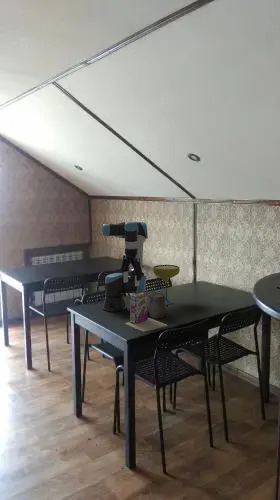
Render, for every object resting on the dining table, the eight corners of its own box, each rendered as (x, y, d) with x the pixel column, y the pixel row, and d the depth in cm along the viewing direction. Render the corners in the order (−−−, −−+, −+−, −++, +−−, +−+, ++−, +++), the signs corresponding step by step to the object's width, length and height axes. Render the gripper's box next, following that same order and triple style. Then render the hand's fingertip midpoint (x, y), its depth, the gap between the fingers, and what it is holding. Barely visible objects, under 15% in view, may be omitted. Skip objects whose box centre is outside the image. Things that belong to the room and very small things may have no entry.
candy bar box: (136, 324, 260) (135, 296, 258) (129, 322, 263) (129, 295, 261) (148, 319, 268) (148, 293, 266) (142, 318, 272) (142, 292, 269)
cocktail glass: (154, 298, 319) (154, 264, 316) (180, 299, 317) (180, 264, 313) (151, 305, 302) (151, 269, 298) (178, 306, 299) (178, 269, 295)
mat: (124, 324, 262) (124, 323, 262) (149, 318, 273) (149, 317, 273) (143, 332, 248) (143, 331, 248) (167, 326, 259) (167, 325, 259)
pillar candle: (164, 313, 283) (163, 290, 281) (165, 318, 273) (165, 294, 271) (148, 314, 283) (148, 291, 280) (149, 318, 273) (149, 294, 271)
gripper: (114, 246, 273) (115, 281, 276) (137, 251, 254) (138, 288, 258) (124, 245, 277) (125, 279, 281) (148, 249, 259) (148, 286, 262)
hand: (131, 283), depth 269 cm, fingers open, 11 cm apart
